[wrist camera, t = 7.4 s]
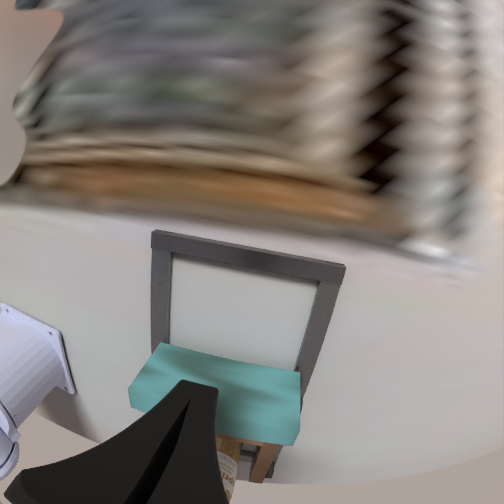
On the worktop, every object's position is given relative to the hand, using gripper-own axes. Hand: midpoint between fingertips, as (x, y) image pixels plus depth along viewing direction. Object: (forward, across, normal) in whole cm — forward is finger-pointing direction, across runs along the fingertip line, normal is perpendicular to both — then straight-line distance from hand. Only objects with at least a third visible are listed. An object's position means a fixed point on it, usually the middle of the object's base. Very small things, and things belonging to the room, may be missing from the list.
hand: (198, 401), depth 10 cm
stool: (+8, 0, +10) cm, 13 cm away
